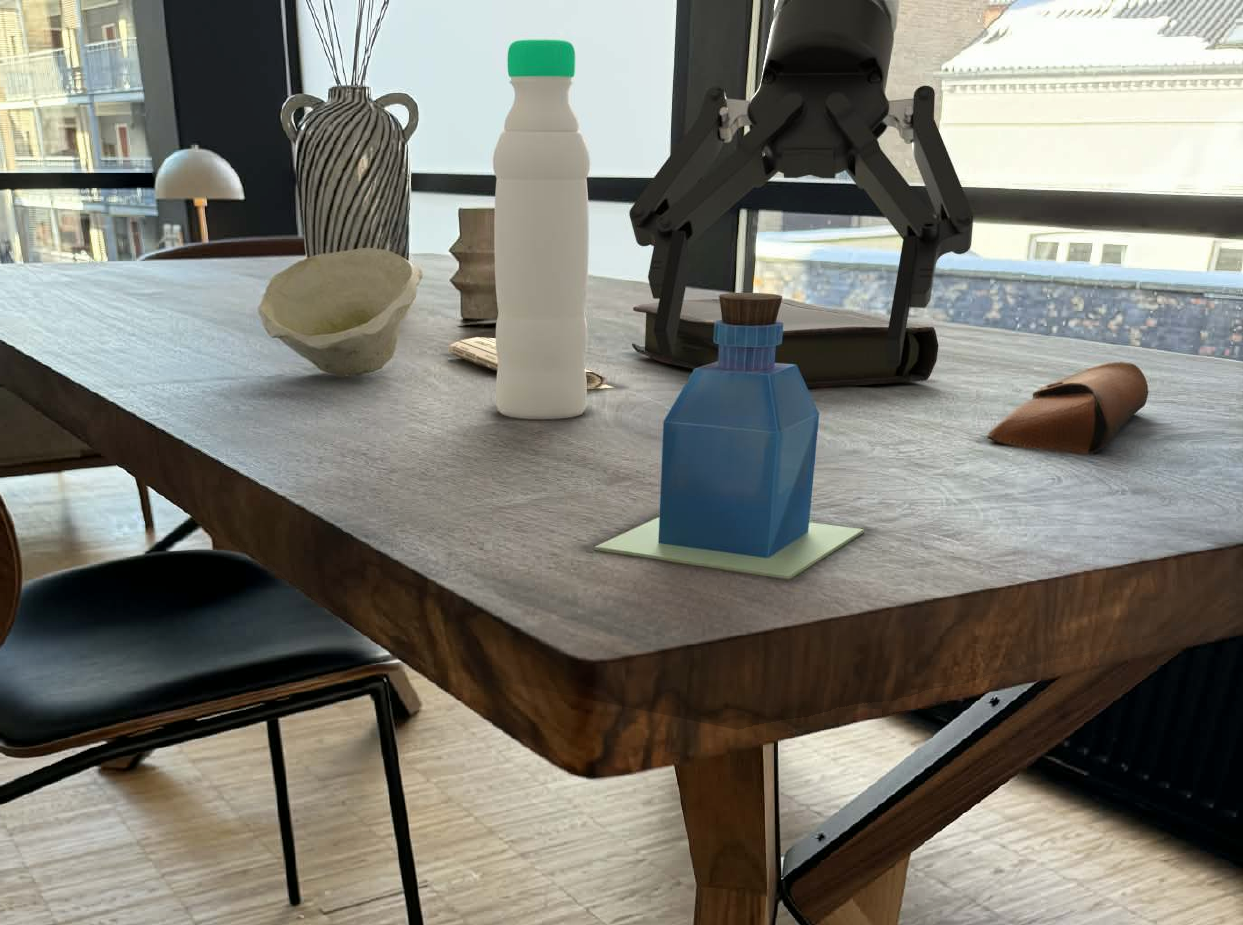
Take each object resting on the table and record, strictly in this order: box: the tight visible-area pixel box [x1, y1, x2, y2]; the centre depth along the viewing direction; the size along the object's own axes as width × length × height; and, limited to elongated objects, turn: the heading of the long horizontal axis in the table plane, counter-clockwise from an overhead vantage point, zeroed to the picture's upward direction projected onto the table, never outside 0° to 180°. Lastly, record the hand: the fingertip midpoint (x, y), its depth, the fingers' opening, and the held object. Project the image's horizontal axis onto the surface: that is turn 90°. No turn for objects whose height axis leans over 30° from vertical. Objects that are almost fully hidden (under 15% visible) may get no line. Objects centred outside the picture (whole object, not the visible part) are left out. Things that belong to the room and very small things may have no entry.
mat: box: [594, 516, 865, 580], centre depth 77 cm, size 11×11×1 cm
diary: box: [631, 298, 939, 389], centre depth 132 cm, size 19×25×5 cm
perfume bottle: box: [658, 292, 820, 558], centre depth 74 cm, size 6×6×12 cm
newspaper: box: [448, 336, 615, 390], centre depth 130 cm, size 24×7×2 cm, turn 23°
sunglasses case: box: [987, 361, 1149, 455], centre depth 106 cm, size 18×7×7 cm, turn 152°
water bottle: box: [492, 38, 591, 420], centre depth 106 cm, size 7×7×25 cm
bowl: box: [257, 247, 424, 377], centre depth 128 cm, size 15×14×10 cm
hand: (775, 349), depth 84 cm, fingers open, 13 cm apart
